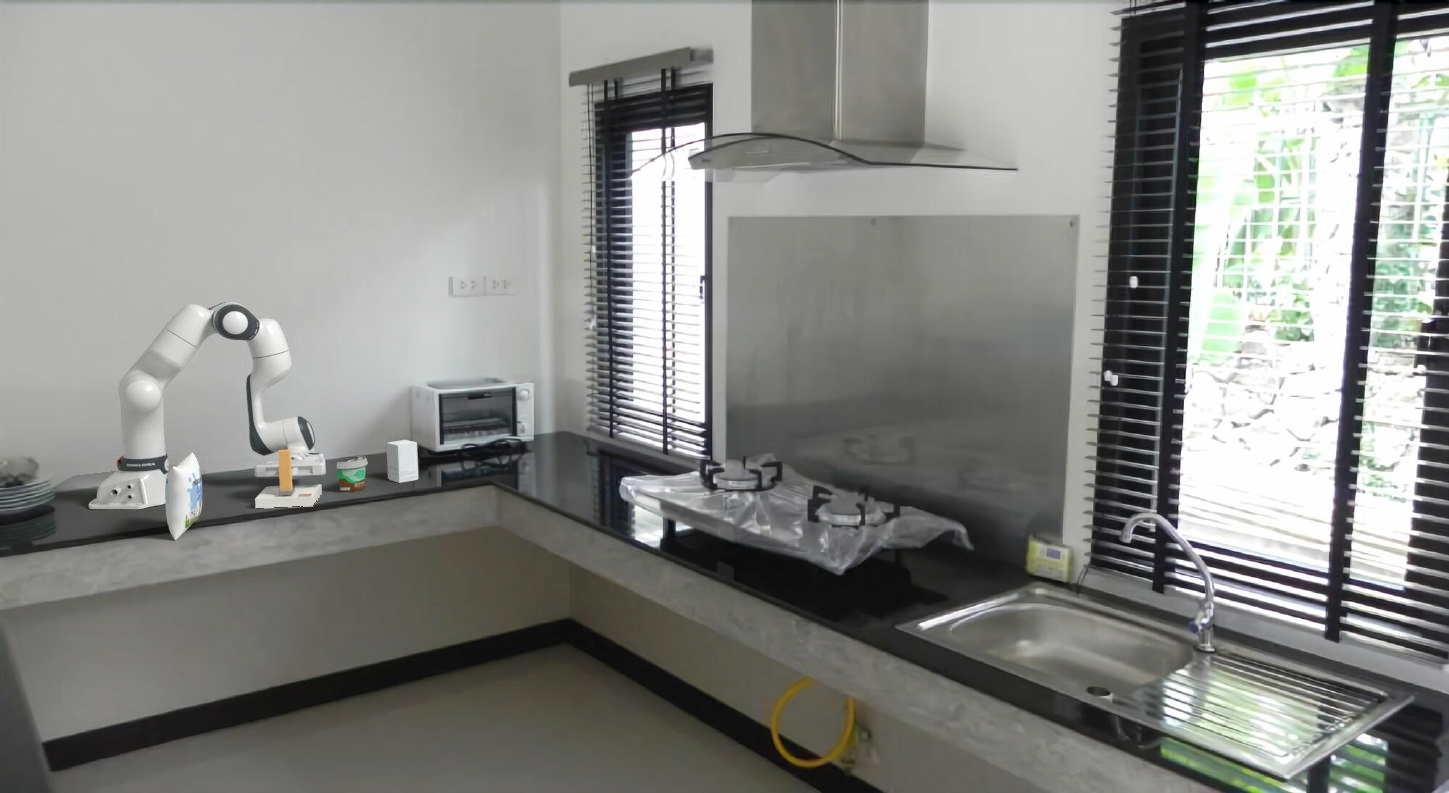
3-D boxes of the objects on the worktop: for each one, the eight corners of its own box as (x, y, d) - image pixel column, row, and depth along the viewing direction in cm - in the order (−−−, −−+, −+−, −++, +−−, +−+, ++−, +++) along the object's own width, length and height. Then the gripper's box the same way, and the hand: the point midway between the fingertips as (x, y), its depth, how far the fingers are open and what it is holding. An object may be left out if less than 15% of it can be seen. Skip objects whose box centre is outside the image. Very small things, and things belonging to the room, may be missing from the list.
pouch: (157, 541, 278) (152, 466, 275) (182, 522, 296) (178, 452, 293) (190, 540, 279) (185, 466, 276) (213, 521, 298) (208, 451, 295)
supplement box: (419, 479, 351) (417, 442, 349) (398, 483, 345) (397, 445, 344) (407, 476, 356) (406, 439, 354) (387, 479, 350) (385, 442, 348)
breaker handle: (277, 495, 314) (275, 452, 312) (281, 491, 318) (278, 449, 317) (292, 494, 314) (289, 451, 313) (295, 491, 319) (293, 448, 317)
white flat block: (255, 508, 312) (255, 498, 311) (267, 495, 327) (266, 486, 327) (313, 506, 315) (312, 496, 314) (321, 493, 330) (321, 484, 330)
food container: (355, 494, 330) (354, 463, 328) (337, 493, 331) (336, 462, 329) (376, 485, 342) (375, 455, 340) (358, 484, 343) (357, 454, 341)
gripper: (258, 455, 328) (248, 464, 314) (328, 453, 332) (321, 462, 319) (259, 475, 329) (249, 485, 315) (329, 473, 333) (322, 483, 319)
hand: (286, 474), depth 317 cm, fingers closed
